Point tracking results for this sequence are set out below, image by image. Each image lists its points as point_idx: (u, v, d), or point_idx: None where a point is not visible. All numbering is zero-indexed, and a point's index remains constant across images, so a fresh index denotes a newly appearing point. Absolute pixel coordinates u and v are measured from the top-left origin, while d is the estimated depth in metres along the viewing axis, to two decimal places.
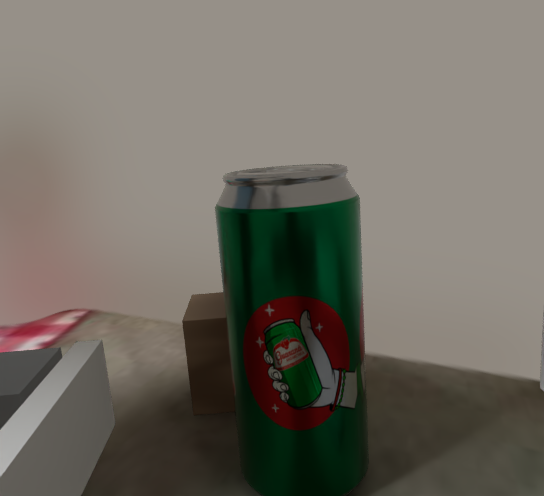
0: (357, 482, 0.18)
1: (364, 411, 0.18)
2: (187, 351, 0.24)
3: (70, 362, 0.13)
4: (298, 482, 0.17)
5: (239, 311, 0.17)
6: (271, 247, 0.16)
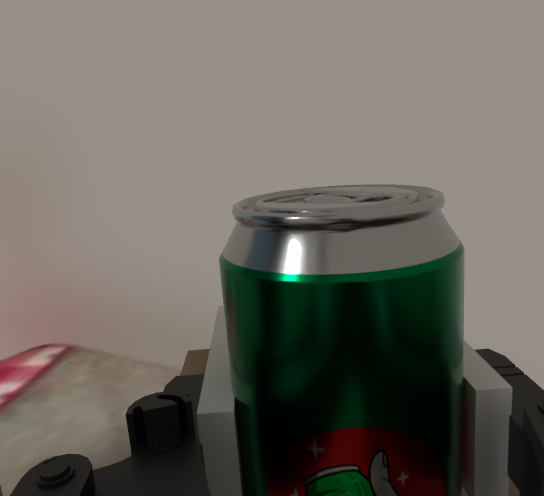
0: None
1: None
2: None
3: None
4: None
5: (260, 440, 0.10)
6: (321, 343, 0.09)
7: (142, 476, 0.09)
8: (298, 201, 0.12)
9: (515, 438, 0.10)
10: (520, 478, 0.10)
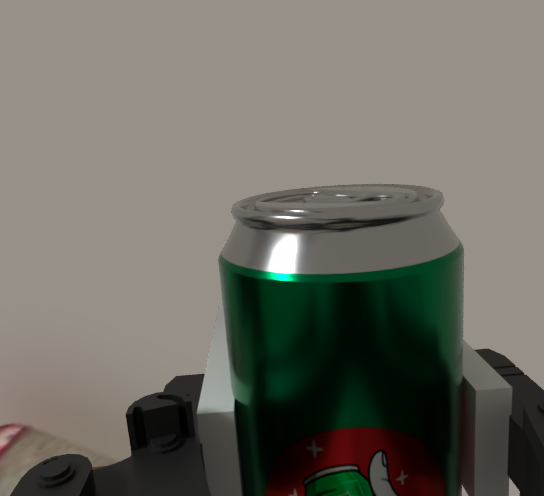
0: None
1: None
2: None
3: None
4: None
5: (259, 440, 0.10)
6: (320, 342, 0.09)
7: (142, 476, 0.09)
8: (298, 201, 0.12)
9: (515, 438, 0.10)
10: (520, 478, 0.10)
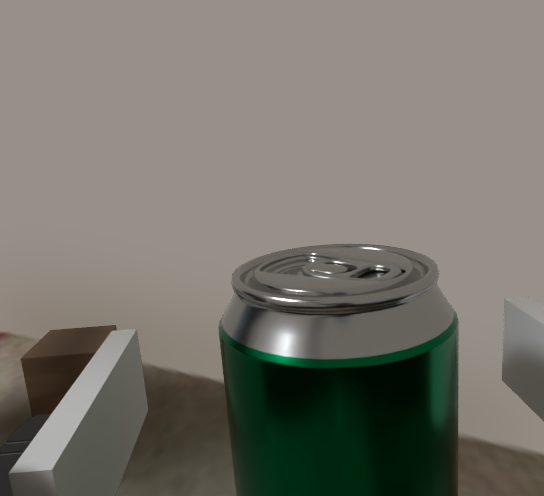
0: None
1: None
2: (27, 385, 0.27)
3: (110, 349, 0.14)
4: None
5: None
6: (319, 424, 0.09)
7: None
8: (296, 264, 0.12)
9: None
10: None
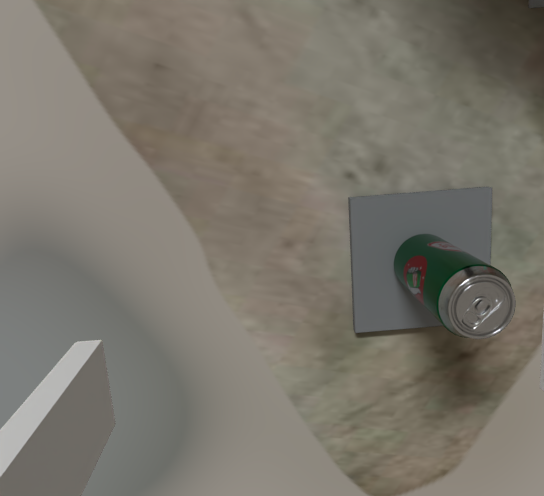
0: (403, 284, 0.43)
1: None
2: None
3: (70, 362, 0.13)
4: (396, 263, 0.42)
5: (432, 262, 0.36)
6: (432, 289, 0.34)
7: None
8: (499, 294, 0.32)
9: None
10: None
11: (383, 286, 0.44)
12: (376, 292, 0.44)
